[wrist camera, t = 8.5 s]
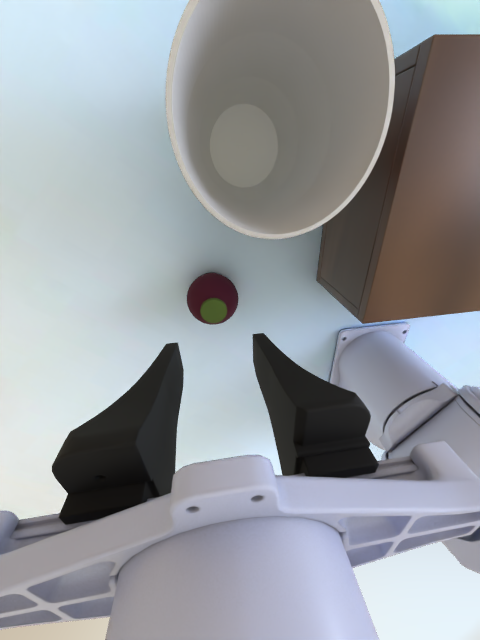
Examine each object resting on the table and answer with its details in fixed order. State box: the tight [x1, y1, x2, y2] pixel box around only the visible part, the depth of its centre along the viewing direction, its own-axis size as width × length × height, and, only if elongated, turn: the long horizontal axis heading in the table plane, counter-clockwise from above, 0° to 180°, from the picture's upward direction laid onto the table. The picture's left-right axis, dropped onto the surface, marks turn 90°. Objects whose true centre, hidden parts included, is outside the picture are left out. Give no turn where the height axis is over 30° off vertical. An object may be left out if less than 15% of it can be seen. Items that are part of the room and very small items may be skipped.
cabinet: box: [317, 35, 480, 324], centre depth 17 cm, size 13×13×8 cm
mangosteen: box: [187, 273, 238, 324], centre depth 20 cm, size 4×4×4 cm
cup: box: [166, 0, 395, 239], centre depth 13 cm, size 8×8×10 cm
